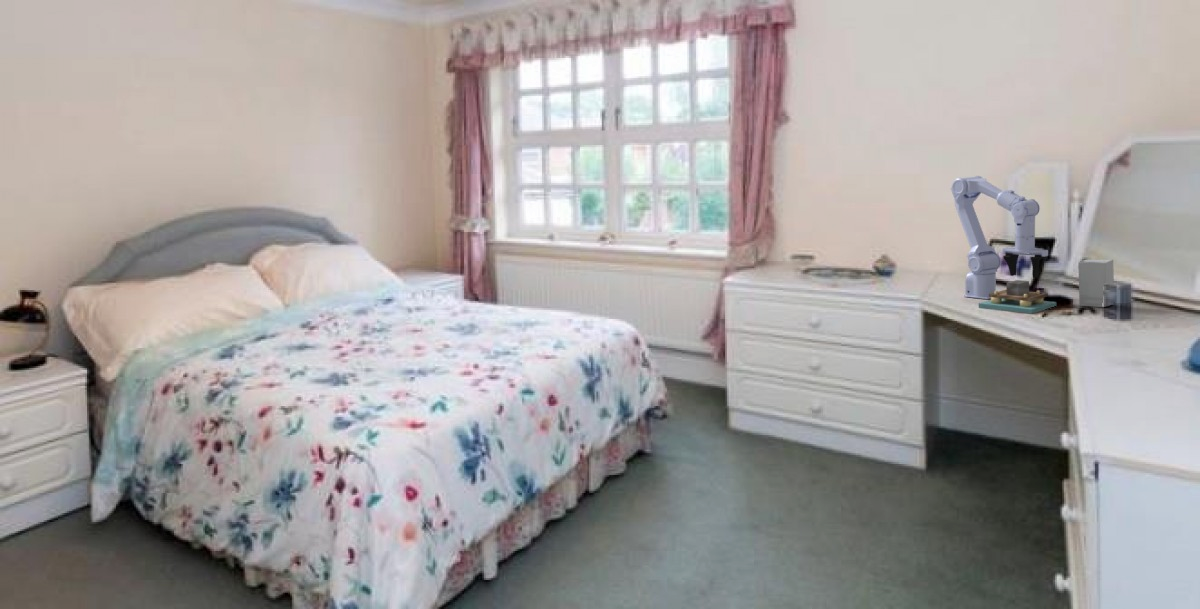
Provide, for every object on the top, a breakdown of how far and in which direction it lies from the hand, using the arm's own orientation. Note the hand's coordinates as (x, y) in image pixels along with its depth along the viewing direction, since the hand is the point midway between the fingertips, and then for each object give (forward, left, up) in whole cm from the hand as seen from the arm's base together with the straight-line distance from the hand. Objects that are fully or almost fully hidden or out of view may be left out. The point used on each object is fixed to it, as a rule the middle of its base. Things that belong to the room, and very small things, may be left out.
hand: (1024, 276), depth 251 cm
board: (+2, -7, -6) cm, 9 cm away
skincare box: (+19, +8, -10) cm, 22 cm away
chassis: (+2, -7, -9) cm, 12 cm away
